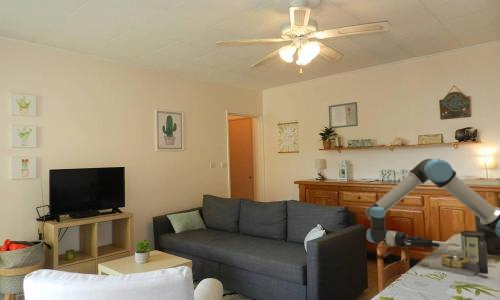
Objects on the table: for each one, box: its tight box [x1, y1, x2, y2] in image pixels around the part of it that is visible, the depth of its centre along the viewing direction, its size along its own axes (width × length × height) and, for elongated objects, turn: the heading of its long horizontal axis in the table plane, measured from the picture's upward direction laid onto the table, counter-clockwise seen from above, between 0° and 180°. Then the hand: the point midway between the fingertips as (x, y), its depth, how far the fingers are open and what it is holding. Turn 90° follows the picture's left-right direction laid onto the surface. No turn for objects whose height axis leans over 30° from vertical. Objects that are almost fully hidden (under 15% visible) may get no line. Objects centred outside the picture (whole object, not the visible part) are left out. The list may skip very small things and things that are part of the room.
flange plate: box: [428, 254, 481, 277], centre depth 160 cm, size 18×20×6 cm
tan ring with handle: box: [440, 241, 489, 275], centre depth 157 cm, size 21×12×13 cm, turn 17°
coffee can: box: [460, 230, 485, 262], centre depth 169 cm, size 10×10×14 cm
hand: (447, 245), depth 158 cm, fingers closed
